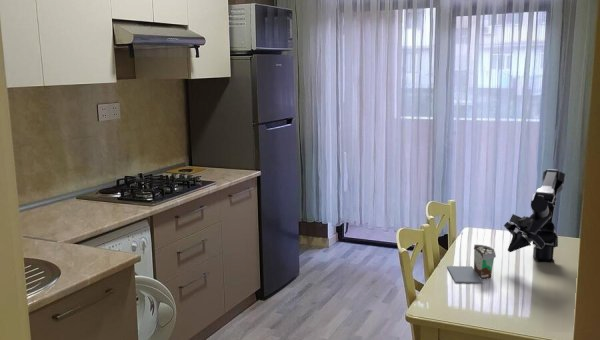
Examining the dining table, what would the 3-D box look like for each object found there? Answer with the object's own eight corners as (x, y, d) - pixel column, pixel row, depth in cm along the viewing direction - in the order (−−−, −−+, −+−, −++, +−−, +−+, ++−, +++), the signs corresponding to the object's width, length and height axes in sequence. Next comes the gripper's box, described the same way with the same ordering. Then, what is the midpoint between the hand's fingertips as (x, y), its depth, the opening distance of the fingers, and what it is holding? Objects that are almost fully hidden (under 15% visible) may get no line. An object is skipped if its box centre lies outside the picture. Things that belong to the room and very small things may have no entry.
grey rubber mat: (471, 267, 221) (471, 266, 221) (482, 283, 205) (482, 281, 205) (447, 267, 221) (447, 266, 221) (455, 283, 206) (455, 281, 206)
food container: (499, 280, 208) (500, 254, 206) (482, 280, 208) (483, 254, 206) (488, 268, 220) (490, 244, 218) (472, 268, 220) (474, 244, 218)
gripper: (509, 201, 221) (482, 230, 221) (539, 213, 203) (510, 245, 203) (526, 219, 224) (499, 248, 224) (557, 233, 206) (528, 264, 206)
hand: (508, 251), depth 214 cm, fingers closed
